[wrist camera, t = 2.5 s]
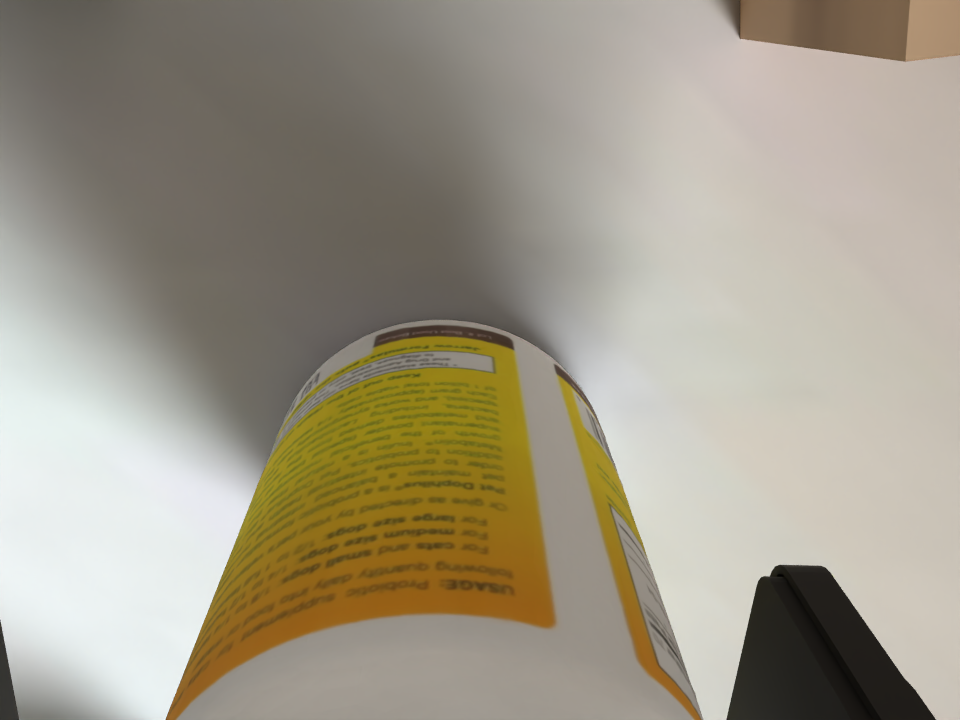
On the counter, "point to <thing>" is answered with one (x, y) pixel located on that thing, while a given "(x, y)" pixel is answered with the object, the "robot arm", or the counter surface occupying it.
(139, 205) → the counter surface
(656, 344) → the counter surface
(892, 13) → the walnut block
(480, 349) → the supplement bottle
